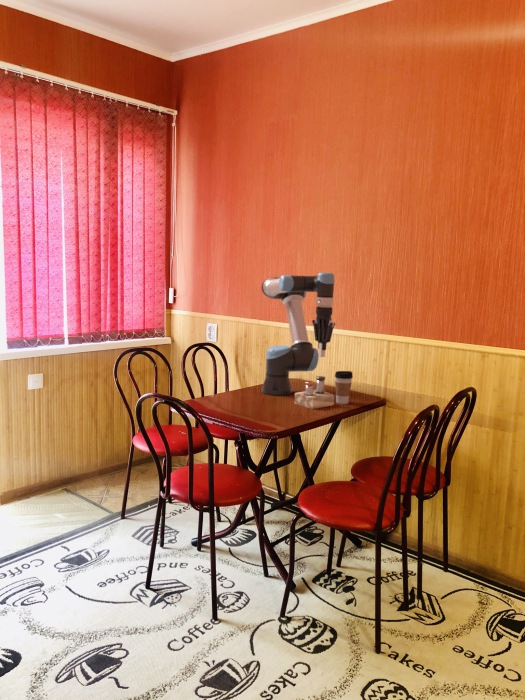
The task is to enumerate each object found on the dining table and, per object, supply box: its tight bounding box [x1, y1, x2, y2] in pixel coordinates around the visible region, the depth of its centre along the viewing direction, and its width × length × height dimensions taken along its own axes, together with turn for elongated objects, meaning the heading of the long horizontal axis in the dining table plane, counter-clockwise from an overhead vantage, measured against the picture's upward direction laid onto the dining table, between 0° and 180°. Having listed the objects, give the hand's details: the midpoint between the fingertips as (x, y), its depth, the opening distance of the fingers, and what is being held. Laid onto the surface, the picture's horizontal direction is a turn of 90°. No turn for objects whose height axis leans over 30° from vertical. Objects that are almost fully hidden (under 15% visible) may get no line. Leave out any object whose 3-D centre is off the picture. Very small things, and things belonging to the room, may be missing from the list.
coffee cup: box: [334, 370, 353, 405], centre depth 272 cm, size 8×8×15 cm
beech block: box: [293, 389, 335, 410], centre depth 267 cm, size 12×14×5 cm
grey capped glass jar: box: [315, 375, 326, 394], centre depth 268 cm, size 4×4×9 cm
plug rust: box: [304, 380, 315, 396], centre depth 264 cm, size 4×4×9 cm
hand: (321, 356), depth 267 cm, fingers closed
